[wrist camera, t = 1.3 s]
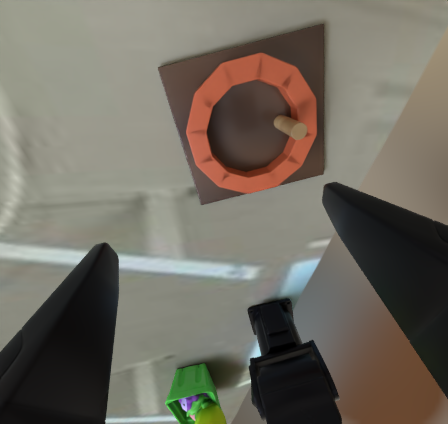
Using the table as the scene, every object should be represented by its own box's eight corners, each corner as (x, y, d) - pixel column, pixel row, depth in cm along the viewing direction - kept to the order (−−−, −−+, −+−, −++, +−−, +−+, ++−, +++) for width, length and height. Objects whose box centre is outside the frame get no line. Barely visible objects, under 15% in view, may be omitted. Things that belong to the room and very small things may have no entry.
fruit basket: (166, 366, 39) (157, 460, 30) (217, 355, 39) (224, 446, 30) (184, 395, 45) (181, 481, 35) (228, 385, 45) (237, 470, 35)
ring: (310, 170, 23) (317, 176, 22) (206, 196, 23) (207, 204, 22) (306, 41, 18) (315, 37, 16) (171, 76, 18) (169, 76, 16)
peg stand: (321, 172, 24) (348, 192, 20) (201, 202, 24) (202, 229, 20) (320, 24, 18) (360, 7, 13) (158, 67, 18) (147, 64, 14)
